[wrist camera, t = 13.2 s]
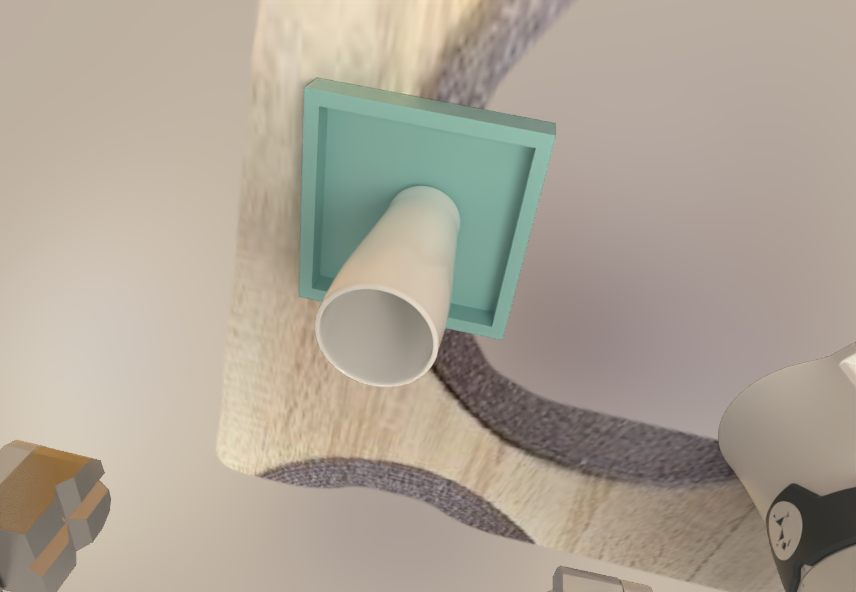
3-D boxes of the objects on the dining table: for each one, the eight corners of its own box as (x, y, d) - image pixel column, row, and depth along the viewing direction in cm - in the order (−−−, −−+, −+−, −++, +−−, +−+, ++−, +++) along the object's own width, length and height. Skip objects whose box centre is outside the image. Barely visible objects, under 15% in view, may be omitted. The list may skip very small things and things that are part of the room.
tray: (555, 123, 40) (555, 135, 38) (504, 320, 48) (502, 340, 46) (317, 77, 41) (304, 87, 39) (309, 279, 50) (298, 296, 47)
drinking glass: (452, 271, 46) (415, 406, 34) (368, 238, 46) (299, 362, 33) (486, 194, 42) (459, 314, 30) (395, 157, 42) (329, 263, 30)
